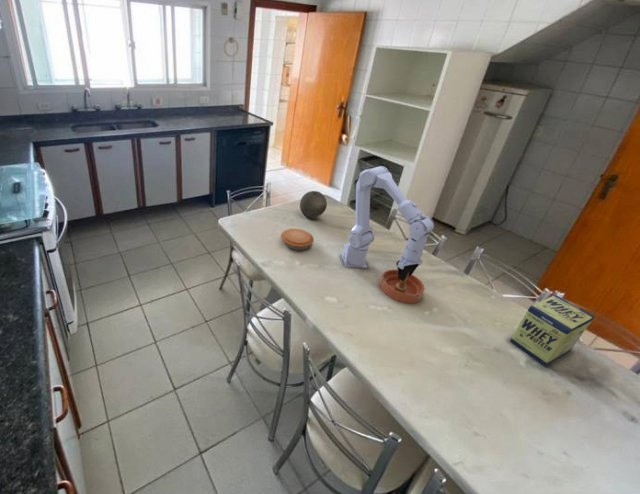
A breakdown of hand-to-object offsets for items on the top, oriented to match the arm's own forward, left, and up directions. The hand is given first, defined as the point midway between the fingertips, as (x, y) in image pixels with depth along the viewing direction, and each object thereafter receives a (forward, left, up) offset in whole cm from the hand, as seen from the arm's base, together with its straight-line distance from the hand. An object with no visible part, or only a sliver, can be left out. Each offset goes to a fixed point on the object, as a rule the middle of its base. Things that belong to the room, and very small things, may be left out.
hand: (404, 276), depth 127 cm
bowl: (0, 0, -7) cm, 7 cm away
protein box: (+37, -23, -7) cm, 44 cm away
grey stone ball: (-27, +57, -7) cm, 63 cm away
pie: (-38, +29, -7) cm, 48 cm away
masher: (0, 0, -6) cm, 6 cm away
